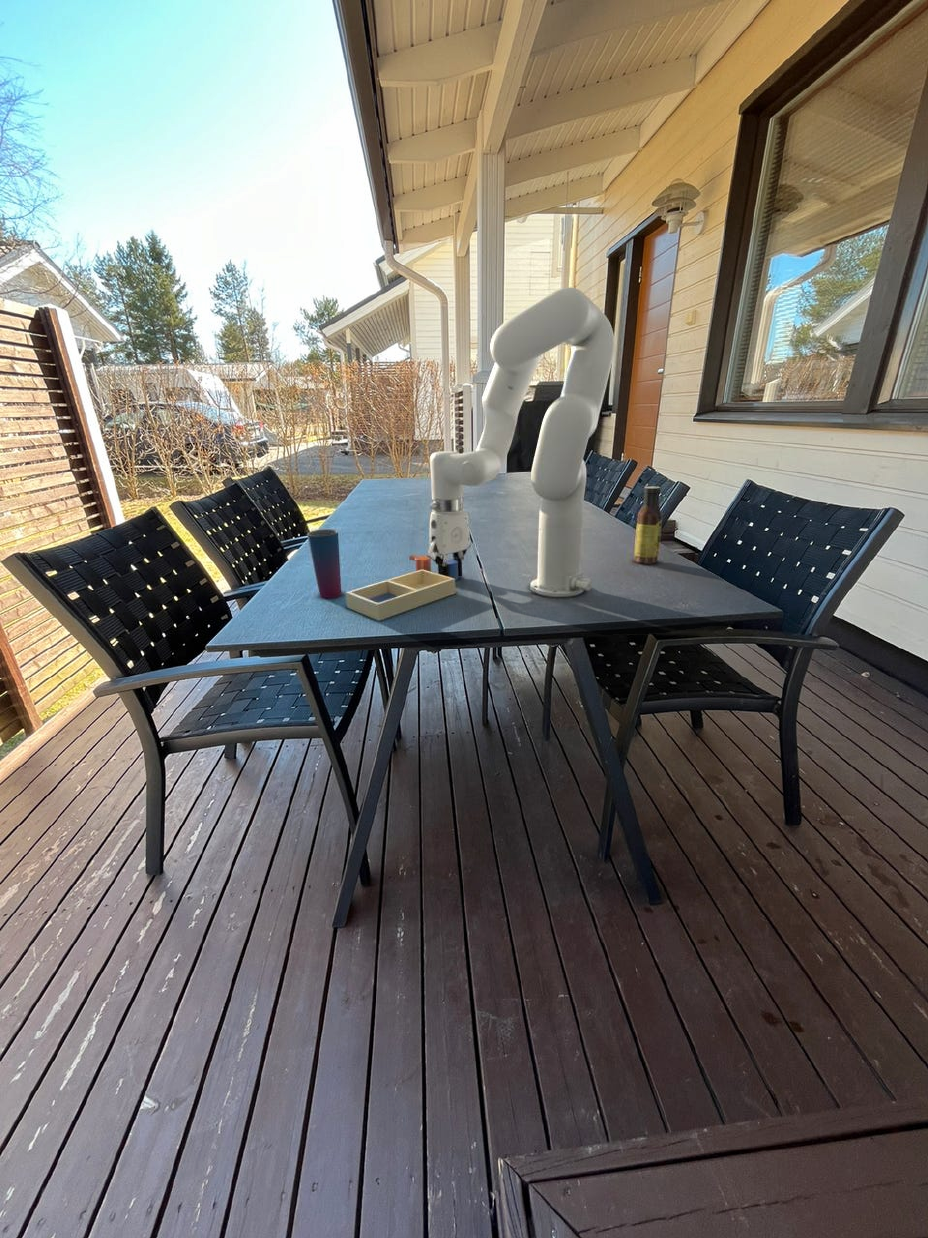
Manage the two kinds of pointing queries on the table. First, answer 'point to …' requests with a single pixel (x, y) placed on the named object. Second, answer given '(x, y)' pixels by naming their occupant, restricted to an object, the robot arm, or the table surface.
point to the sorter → (400, 594)
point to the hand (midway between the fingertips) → (450, 576)
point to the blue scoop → (453, 568)
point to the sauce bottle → (648, 528)
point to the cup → (326, 561)
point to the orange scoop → (421, 562)
